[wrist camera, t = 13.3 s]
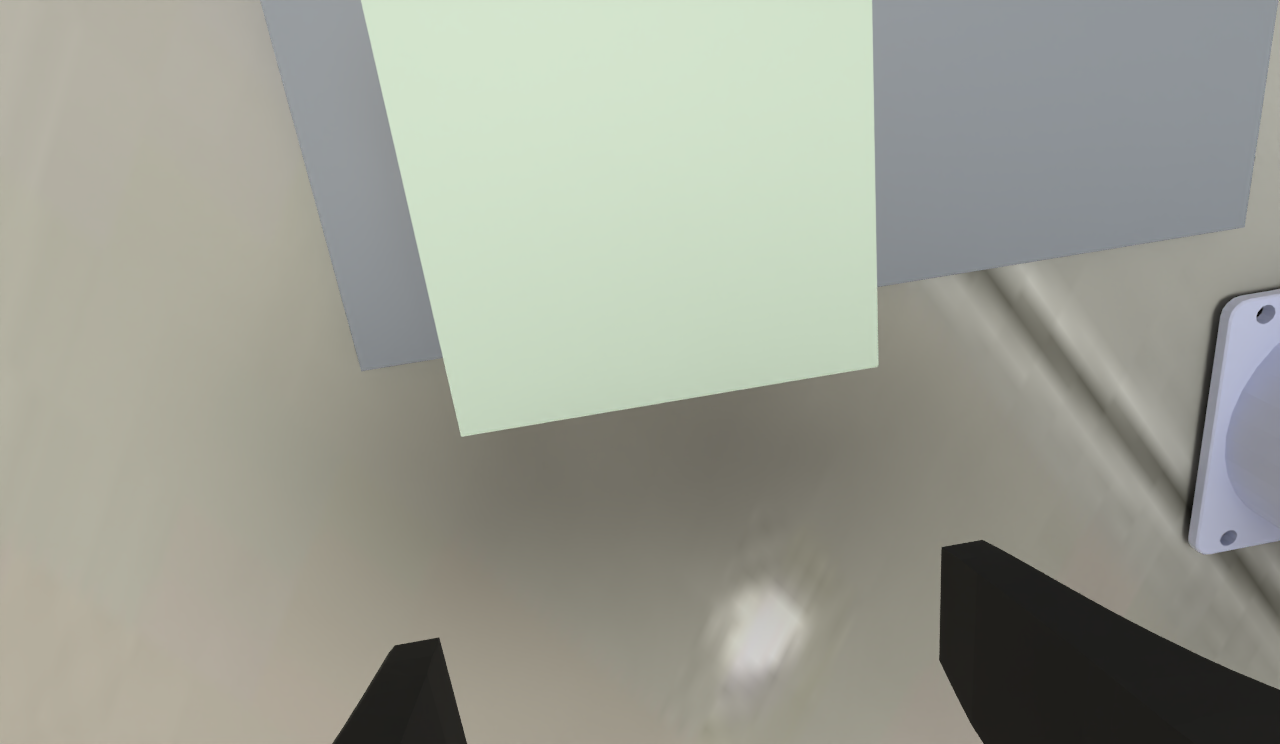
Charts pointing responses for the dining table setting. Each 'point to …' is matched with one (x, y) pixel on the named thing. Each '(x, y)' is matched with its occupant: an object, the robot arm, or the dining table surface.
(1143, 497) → the dining table surface
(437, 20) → the green block
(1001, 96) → the grey mat
